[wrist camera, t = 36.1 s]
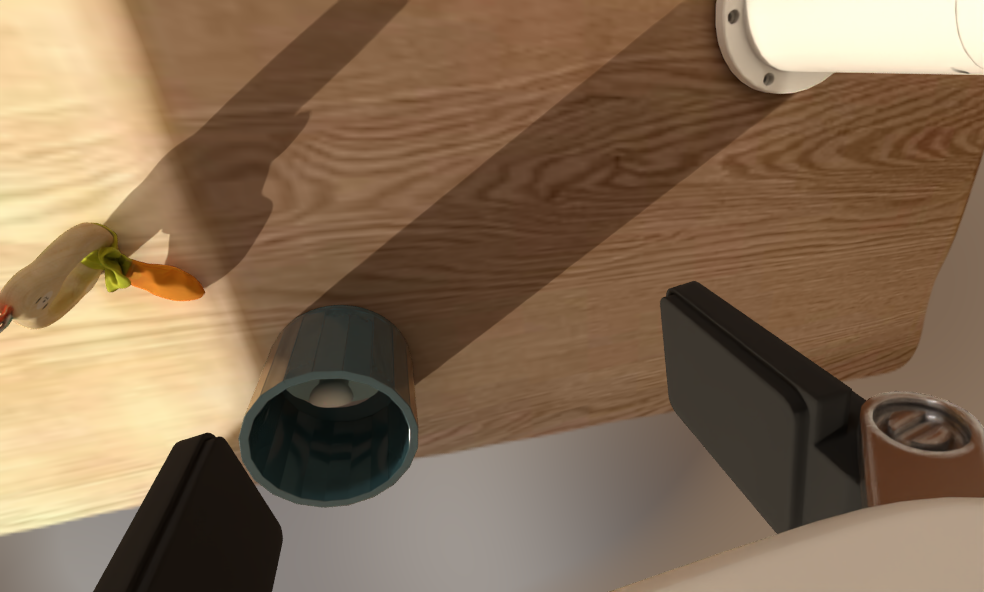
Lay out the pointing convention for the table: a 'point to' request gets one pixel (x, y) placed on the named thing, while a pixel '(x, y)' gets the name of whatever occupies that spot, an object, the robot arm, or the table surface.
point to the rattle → (84, 277)
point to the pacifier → (333, 392)
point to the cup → (332, 411)
